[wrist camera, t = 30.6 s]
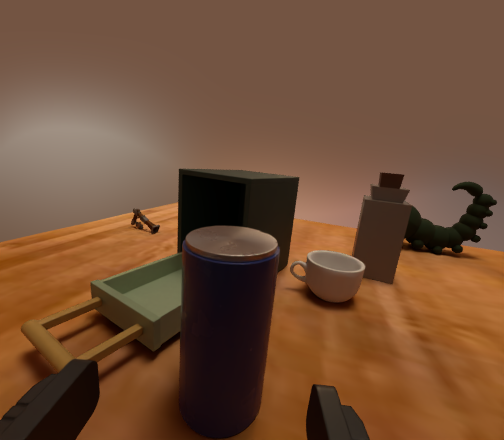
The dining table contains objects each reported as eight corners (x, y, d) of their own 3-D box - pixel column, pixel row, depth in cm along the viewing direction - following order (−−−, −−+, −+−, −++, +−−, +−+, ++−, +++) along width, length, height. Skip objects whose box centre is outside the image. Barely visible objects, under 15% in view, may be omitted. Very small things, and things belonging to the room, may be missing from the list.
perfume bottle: (349, 273, 43) (370, 171, 39) (350, 261, 49) (368, 171, 45) (392, 284, 41) (419, 176, 37) (387, 269, 47) (410, 175, 43)
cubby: (240, 301, 32) (251, 178, 28) (176, 273, 38) (178, 168, 34) (287, 265, 45) (299, 177, 41) (234, 248, 51) (240, 170, 47)
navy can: (274, 385, 20) (295, 238, 17) (229, 461, 15) (246, 268, 12) (215, 350, 23) (224, 220, 20) (160, 402, 18) (160, 237, 15)
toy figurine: (456, 256, 64) (357, 231, 71) (487, 185, 59) (378, 166, 66) (476, 270, 55) (361, 241, 62) (514, 188, 50) (385, 166, 57)
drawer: (75, 407, 16) (71, 370, 16) (18, 339, 21) (12, 308, 21) (246, 286, 34) (247, 266, 33) (192, 264, 39) (192, 246, 38)
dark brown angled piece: (133, 220, 59) (137, 205, 58) (154, 240, 57) (160, 224, 55) (126, 222, 58) (131, 206, 56) (148, 242, 56) (154, 226, 54)
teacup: (349, 285, 39) (356, 254, 38) (364, 313, 32) (373, 276, 30) (287, 276, 40) (291, 245, 39) (288, 302, 33) (293, 265, 31)
